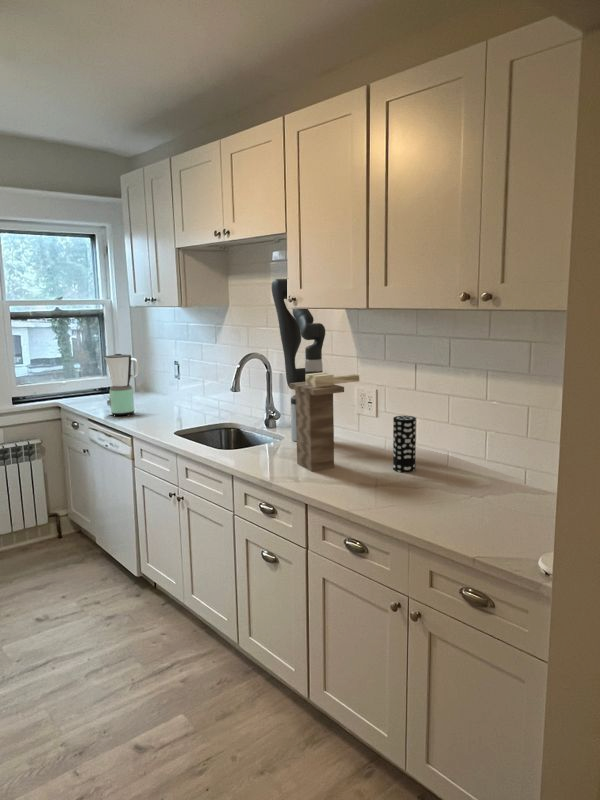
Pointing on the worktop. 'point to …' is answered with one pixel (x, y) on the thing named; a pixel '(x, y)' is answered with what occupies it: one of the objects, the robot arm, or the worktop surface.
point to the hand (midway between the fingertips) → (314, 406)
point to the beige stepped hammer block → (328, 379)
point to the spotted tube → (404, 443)
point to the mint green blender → (121, 383)
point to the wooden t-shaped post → (315, 425)
